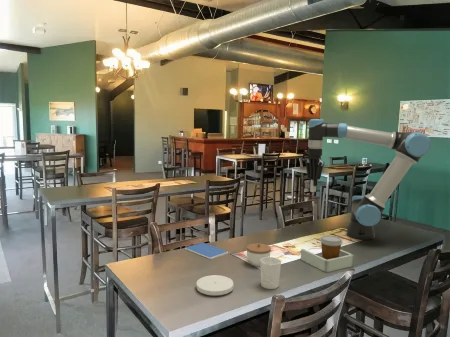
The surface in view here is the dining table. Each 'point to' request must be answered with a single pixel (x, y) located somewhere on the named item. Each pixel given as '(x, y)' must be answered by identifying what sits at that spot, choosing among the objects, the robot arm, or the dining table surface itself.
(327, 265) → the tub
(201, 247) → the blue notebook
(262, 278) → the white cup
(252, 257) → the lidded jar
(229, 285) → the plastic lid
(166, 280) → the dining table surface
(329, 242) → the disposable coffee cup
